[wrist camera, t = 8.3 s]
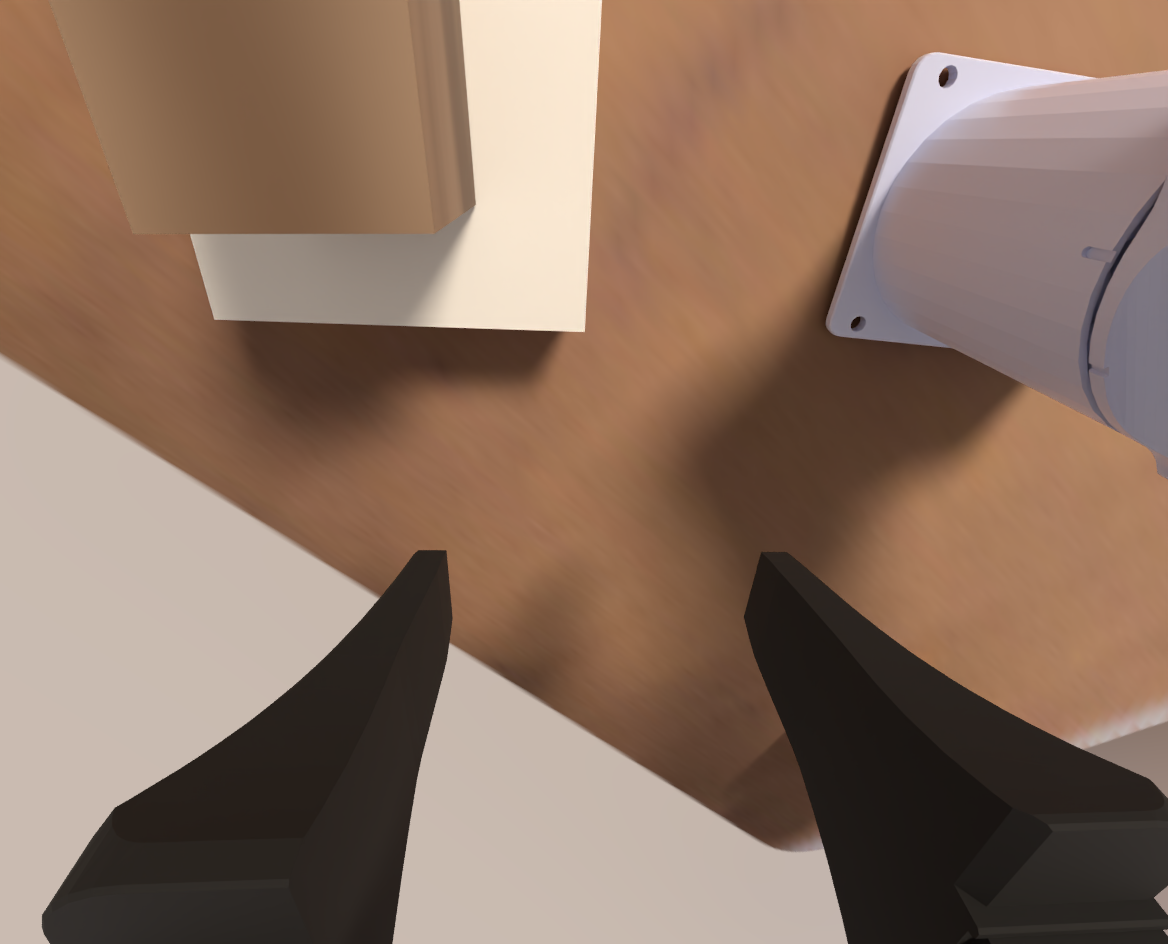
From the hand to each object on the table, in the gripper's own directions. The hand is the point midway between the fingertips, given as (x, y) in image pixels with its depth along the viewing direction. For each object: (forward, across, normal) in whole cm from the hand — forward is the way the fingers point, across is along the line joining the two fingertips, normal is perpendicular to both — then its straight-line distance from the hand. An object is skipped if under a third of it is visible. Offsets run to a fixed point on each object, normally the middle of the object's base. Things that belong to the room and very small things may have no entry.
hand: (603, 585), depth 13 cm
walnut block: (+6, +6, -9) cm, 12 cm away
